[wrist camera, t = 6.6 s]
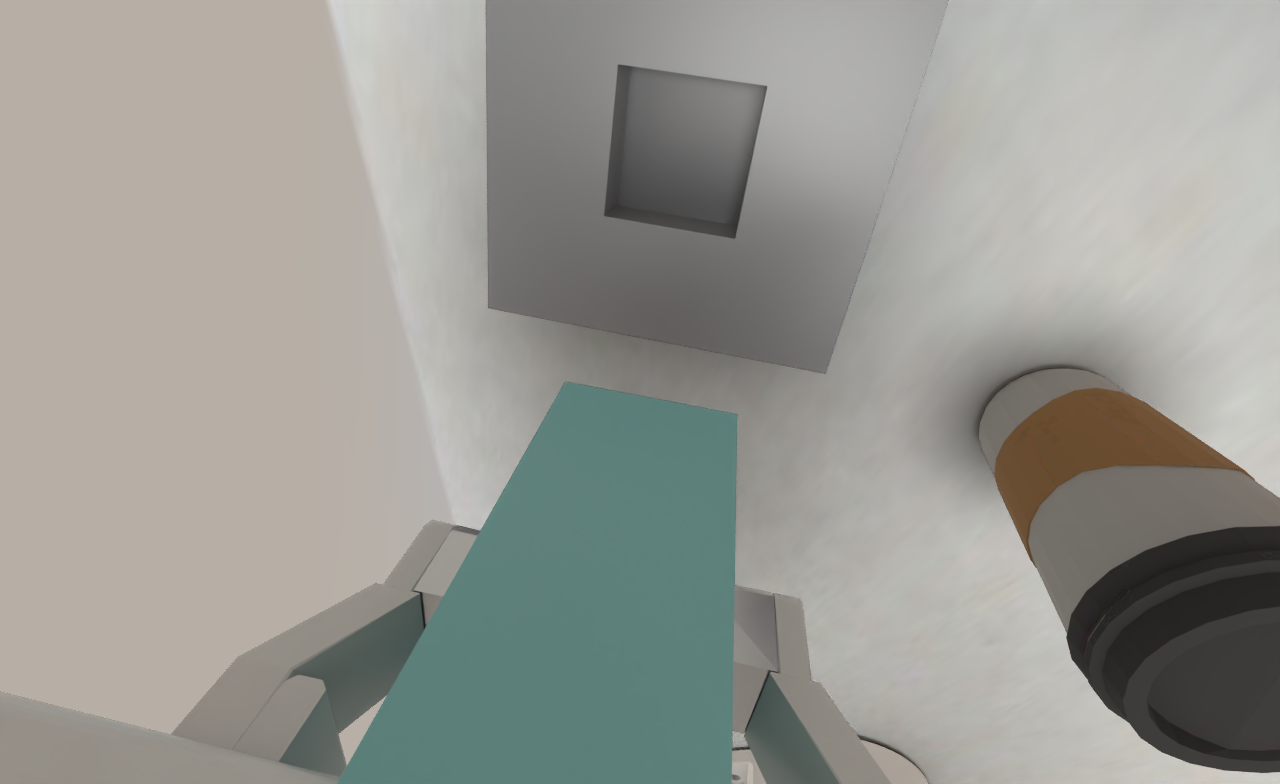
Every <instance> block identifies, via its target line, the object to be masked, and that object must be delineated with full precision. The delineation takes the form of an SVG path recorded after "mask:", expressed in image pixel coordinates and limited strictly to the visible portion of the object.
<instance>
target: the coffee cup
mask: <svg viewBox="0 0 1280 784" xmlns="http://www.w3.org/2000/svg"><path fill="white" fill-rule="evenodd" d="M979 441H980V444H981V448H982V451H983V453H984V455H985V457H986V460H987V462H988V464H989V466H990V468H991V470H992V473H993V475H994V477H995V479H996V482H997V486H998V490H999V492H1000V494H1001V496H1002V498H1003V500H1004V503H1005V505H1006V507H1007V509H1008V511H1009V514H1010V516H1011V518H1012V520H1013V522H1014V525H1015V527H1016V529H1017V531H1018V533H1019V536H1020V538H1021V540H1022V542H1023V544H1024V547H1025V549H1026V551H1027V553H1028V555H1029V557H1030V560H1031V561H1032V562H1033V564H1034V565H1035V567H1036V568H1037V570H1038V572H1039V574H1040V576H1041V578H1042V580H1043V582H1044V585H1045V587H1046V589H1047V591H1048V593H1049V595H1050V598H1051V600H1052V602H1053V604H1054V606H1055V608H1056V611H1057V613H1058V615H1059V617H1060V619H1061V621H1062V623H1063V626H1064V628H1065V630H1066V632H1067V637H1066V638H1067V642H1068V646H1069V650H1070V654H1071V658H1072V660H1073V661H1074V662H1075V664H1076V665H1077V666H1078V668H1079V669H1080V670H1081V672H1082V673H1083V674H1084V675H1085V677H1086V678H1087V679H1088V682H1089V684H1090V685H1091V687H1092V688H1093V690H1094V691H1095V692H1096V693H1097V695H1098V696H1099V697H1100V699H1101V700H1102V701H1103V703H1104V704H1105V705H1106V706H1107V708H1108V709H1110V710H1111V711H1113V712H1114V713H1116V714H1117V715H1119V716H1120V717H1121V718H1123V719H1124V720H1126V721H1127V722H1129V723H1130V725H1131V726H1132V727H1133V729H1134V730H1135V731H1136V732H1137V734H1138V735H1139V736H1140V738H1142V739H1143V740H1145V741H1146V742H1148V743H1149V744H1151V745H1152V746H1153V747H1155V748H1156V749H1158V750H1159V751H1161V752H1163V753H1165V754H1168V755H1170V756H1173V757H1175V758H1178V759H1181V760H1183V761H1186V762H1188V763H1191V764H1196V765H1201V766H1206V767H1211V768H1216V769H1220V770H1227V771H1242V772H1257V773H1269V772H1280V498H1279V497H1277V496H1276V495H1274V494H1273V493H1271V492H1270V491H1269V490H1267V489H1266V488H1264V487H1263V486H1261V485H1260V484H1258V483H1257V482H1256V481H1255V480H1254V478H1252V477H1251V476H1250V475H1249V474H1248V473H1247V472H1246V471H1245V470H1243V469H1242V468H1240V467H1239V466H1238V465H1236V464H1235V463H1233V462H1232V461H1230V460H1229V459H1227V458H1226V457H1224V456H1223V455H1221V454H1220V453H1218V452H1217V451H1215V450H1214V449H1213V448H1211V447H1210V446H1208V445H1207V444H1205V443H1204V442H1202V441H1201V440H1199V439H1198V438H1196V437H1195V436H1193V435H1192V434H1190V433H1189V432H1188V431H1186V430H1185V429H1183V428H1182V427H1180V426H1179V425H1177V424H1176V423H1174V422H1173V421H1171V420H1170V419H1168V418H1167V417H1166V416H1164V415H1163V414H1161V413H1160V412H1158V411H1157V410H1155V409H1154V408H1152V407H1151V406H1149V405H1148V404H1146V403H1145V402H1143V401H1141V400H1139V399H1136V398H1134V397H1132V396H1131V395H1130V394H1128V393H1127V392H1125V391H1124V390H1122V389H1121V388H1119V387H1118V386H1117V385H1115V384H1114V383H1112V382H1111V381H1109V380H1108V379H1106V378H1105V377H1103V376H1100V375H1097V374H1095V373H1092V372H1090V371H1085V370H1077V369H1063V368H1057V369H1045V370H1040V371H1036V372H1033V373H1030V374H1026V375H1024V376H1022V377H1020V378H1018V379H1016V380H1014V381H1012V382H1010V383H1009V384H1007V385H1006V386H1005V387H1004V388H1002V389H1001V390H1000V391H999V392H997V393H996V395H995V396H994V397H993V398H992V400H991V401H990V402H989V403H988V405H987V407H986V409H985V412H984V414H983V416H982V420H981V422H980V427H979Z"/></svg>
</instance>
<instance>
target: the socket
mask: <svg viewBox="0 0 1280 784" xmlns="http://www.w3.org/2000/svg"><path fill="white" fill-rule="evenodd" d="M948 2H949V0H486V98H487V214H488V308H490V309H495V310H501V311H506V312H511V313H516V314H521V315H526V316H531V317H537V318H542V319H547V320H552V321H557V322H562V323H567V324H572V325H578V326H583V327H588V328H593V329H598V330H603V331H608V332H614V333H619V334H624V335H629V336H634V337H639V338H644V339H649V340H655V341H660V342H665V343H670V344H675V345H680V346H685V347H691V348H696V349H701V350H706V351H711V352H716V353H721V354H726V355H732V356H737V357H742V358H747V359H752V360H757V361H762V362H768V363H773V364H778V365H783V366H788V367H793V368H798V369H803V370H809V371H814V372H819V373H824V374H826V372H827V369H828V365H829V362H830V359H831V356H832V353H833V350H834V347H835V344H836V341H837V338H838V335H839V332H840V329H841V326H842V323H843V320H844V317H845V314H846V311H847V308H848V305H849V302H850V299H851V296H852V293H853V290H854V287H855V284H856V281H857V278H858V275H859V272H860V268H861V265H862V262H863V259H864V256H865V253H866V250H867V247H868V244H869V241H870V238H871V235H872V232H873V229H874V226H875V223H876V220H877V217H878V214H879V211H880V208H881V205H882V202H883V199H884V196H885V193H886V190H887V187H888V184H889V181H890V178H891V175H892V172H893V168H894V165H895V162H896V159H897V156H898V153H899V150H900V147H901V144H902V141H903V138H904V135H905V132H906V129H907V126H908V123H909V120H910V117H911V114H912V111H913V108H914V105H915V102H916V99H917V96H918V93H919V90H920V87H921V84H922V81H923V78H924V75H925V71H926V68H927V65H928V62H929V59H930V56H931V53H932V50H933V47H934V44H935V41H936V38H937V35H938V32H939V29H940V26H941V23H942V20H943V17H944V14H945V11H946V8H947V5H948Z"/></svg>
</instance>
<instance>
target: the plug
mask: <svg viewBox="0 0 1280 784" xmlns="http://www.w3.org/2000/svg"><path fill="white" fill-rule="evenodd" d="M736 456H737V414H734V413H728V412H723V411H718V410H712V409H707V408H702V407H697V406H691V405H686V404H681V403H676V402H670V401H665V400H660V399H655V398H649V397H644V396H639V395H633V394H628V393H623V392H618V391H612V390H607V389H602V388H597V387H591V386H586V385H581V384H576V383H570V382H565V383H564V385H563V386H562V388H561V390H560V392H559V393H558V395H557V397H556V399H555V400H554V402H553V404H552V406H551V408H550V409H549V411H548V413H547V415H546V416H545V418H544V420H543V422H542V423H541V425H540V427H539V429H538V430H537V432H536V434H535V436H534V437H533V439H532V441H531V443H530V445H529V446H528V448H527V450H526V452H525V453H524V455H523V457H522V459H521V460H520V462H519V464H518V466H517V467H516V469H515V471H514V473H513V475H512V476H511V478H510V480H509V482H508V483H507V485H506V487H505V489H504V490H503V492H502V494H501V496H500V497H499V499H498V501H497V503H496V504H495V506H494V508H493V510H492V512H491V513H490V515H489V517H488V519H487V520H486V522H485V524H484V526H483V527H482V529H481V531H480V533H479V534H478V536H477V538H476V540H475V541H474V543H473V545H472V547H471V549H470V550H469V552H468V554H467V556H466V557H465V559H464V561H463V563H462V564H461V566H460V568H459V570H458V571H457V573H456V575H455V577H454V579H453V580H452V582H451V584H450V586H449V587H448V589H447V591H446V593H445V594H444V596H443V598H442V600H441V601H440V603H439V605H438V607H437V608H436V610H435V612H434V614H433V616H432V617H431V619H430V621H429V623H428V624H427V626H426V628H425V630H424V631H423V633H422V635H421V637H420V638H419V640H418V642H417V644H416V646H415V647H414V649H413V651H412V653H411V654H410V656H409V658H408V660H407V661H406V663H405V665H404V667H403V668H402V670H401V672H400V674H399V675H398V677H397V679H396V681H395V683H394V684H393V686H392V688H391V690H390V691H389V693H388V695H387V697H386V698H385V700H384V702H383V704H382V705H381V707H380V709H379V711H378V713H377V714H376V716H375V718H374V720H373V721H372V723H371V725H370V727H369V728H368V730H367V732H366V734H365V735H364V737H363V739H362V741H361V742H360V744H359V746H358V748H357V750H356V752H355V753H354V755H353V757H352V758H351V760H350V762H349V764H348V765H347V767H346V769H345V771H344V772H343V774H342V776H341V778H340V779H339V781H338V783H337V784H732V728H733V660H734V592H735V524H736Z"/></svg>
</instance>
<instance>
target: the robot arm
mask: <svg viewBox="0 0 1280 784" xmlns="http://www.w3.org/2000/svg"><path fill="white" fill-rule="evenodd" d="M479 533H480V531H479V530H475V529H471V528H467V527H463V526H458V525H453V524H449V523H444V522H440V521H436V520H431V521H430V522H429V523H428V524H426V525H425V526H424V527H423V529H422V530H421V532H420V533H419V534H418V536H417V537H416V539H415V540H414V541H413V543H412V544H411V546H410V547H409V549H408V550H407V552H406V553H405V554H404V556H403V557H402V559H401V560H400V561H399V563H398V564H397V566H396V567H395V568H394V570H393V571H392V573H391V574H390V576H389V577H388V578H387V580H386V581H385V583H384V584H383V585H382V584H377V583H375V584H373V585H371V586H369V587H367V588H365V589H364V590H362V591H360V592H358V593H356V594H354V595H352V596H351V597H349V598H347V599H345V600H343V601H341V602H339V603H337V604H336V605H334V606H332V607H330V608H328V609H326V610H325V611H323V612H321V613H319V614H317V615H315V616H314V617H311V618H310V619H308V620H306V621H304V622H302V623H300V624H298V625H296V626H295V627H293V628H291V629H289V630H287V631H285V632H283V633H282V634H280V635H278V636H276V637H274V638H272V639H270V640H268V641H267V642H265V643H263V644H261V645H259V646H257V647H255V648H254V649H252V650H250V651H248V652H246V653H244V654H242V655H241V656H239V657H238V658H236V660H235V661H234V662H233V663H232V664H231V665H230V667H229V668H228V669H227V670H226V671H225V672H224V673H223V675H222V676H221V677H220V678H219V679H218V680H217V682H216V683H215V684H214V685H213V686H212V687H211V688H210V690H209V691H208V692H207V693H206V694H205V695H204V697H203V698H202V699H201V700H200V701H199V703H197V705H196V706H195V707H194V708H193V709H192V710H191V712H190V713H189V714H188V715H187V716H186V717H185V719H184V720H183V721H182V722H181V723H180V724H179V725H178V727H177V728H176V729H175V730H174V731H173V732H172V733H171V734H166V733H163V732H158V731H155V730H151V729H146V728H143V727H139V726H135V725H131V724H127V723H123V722H119V721H115V720H111V719H107V718H103V717H99V716H95V715H91V714H87V713H83V712H80V711H76V710H72V709H68V708H63V707H59V706H55V705H52V704H48V703H44V702H40V701H36V700H32V699H28V698H24V697H20V696H16V695H12V694H8V693H4V692H0V784H337V783H338V781H339V779H340V778H341V776H342V774H343V772H344V771H345V769H346V767H347V765H346V761H345V757H344V754H343V750H342V746H341V743H340V739H339V735H338V734H339V733H340V732H341V731H343V730H344V729H345V728H346V727H348V726H349V725H350V724H351V723H353V722H354V721H355V720H356V719H358V718H359V717H360V716H361V715H363V714H364V713H365V712H366V711H368V710H369V709H370V708H371V707H372V706H374V705H375V704H376V703H378V702H379V701H380V700H381V699H383V698H384V697H385V696H386V695H388V693H389V691H390V690H391V688H392V686H393V684H394V683H395V681H396V679H397V677H398V675H399V674H400V672H401V670H402V668H403V667H404V665H405V663H406V661H407V660H408V658H409V656H410V654H411V653H412V651H413V649H414V647H415V646H416V644H417V642H418V640H419V638H420V637H421V635H422V633H423V631H424V630H425V628H426V626H427V624H428V623H429V621H430V619H431V617H432V616H433V614H434V612H435V610H436V608H437V607H438V605H439V603H440V601H441V600H442V598H443V596H444V594H445V593H446V591H447V589H448V587H449V586H450V584H451V582H452V580H453V579H454V577H455V575H456V573H457V571H458V570H459V568H460V566H461V564H462V563H463V561H464V559H465V557H466V556H467V554H468V552H469V550H470V549H471V547H472V545H473V543H474V541H475V540H476V538H477V536H478V534H479ZM732 730H733V731H737V732H741V733H745V735H744V737H745V739H746V741H747V743H748V745H749V748H750V749H749V750H736V751H732V784H928V781H927V780H926V778H925V776H924V775H923V774H922V772H921V771H920V770H919V769H918V768H917V767H916V766H915V765H913V764H912V763H911V762H910V761H908V760H907V759H905V758H904V757H902V756H901V755H899V754H897V753H895V752H893V751H891V750H889V749H887V748H885V747H882V746H879V745H877V744H874V743H871V742H867V741H864V740H860V739H859V737H858V736H857V735H856V733H855V732H854V730H853V729H852V728H851V726H850V725H849V723H848V722H847V720H846V719H845V718H844V716H843V715H842V713H841V712H840V711H839V709H838V708H837V706H836V705H835V704H834V702H833V701H832V699H831V698H830V696H829V695H828V694H827V692H826V691H825V689H824V688H823V687H822V685H821V684H820V683H818V682H814V681H811V672H810V664H809V655H808V646H807V638H806V629H805V620H804V611H803V604H802V602H801V600H800V599H799V598H794V597H789V596H784V595H780V594H775V593H771V592H766V591H761V590H756V589H752V588H747V587H742V586H737V585H735V592H734V660H733V728H732Z"/></svg>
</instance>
